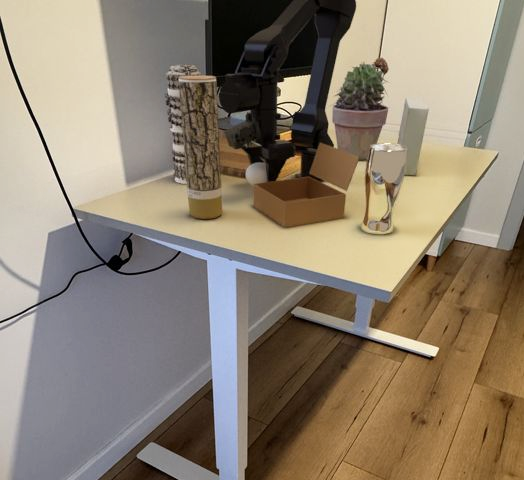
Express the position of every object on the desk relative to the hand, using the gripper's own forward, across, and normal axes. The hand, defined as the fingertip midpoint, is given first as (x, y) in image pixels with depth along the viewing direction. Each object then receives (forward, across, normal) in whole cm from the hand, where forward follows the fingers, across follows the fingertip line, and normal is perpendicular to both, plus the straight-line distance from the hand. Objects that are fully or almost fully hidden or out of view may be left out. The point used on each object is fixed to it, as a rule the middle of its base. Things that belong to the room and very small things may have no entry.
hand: (263, 183), depth 113 cm
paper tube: (+3, +8, -17) cm, 19 cm away
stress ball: (+1, 0, 0) cm, 1 cm away
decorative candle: (+3, -19, -11) cm, 22 cm away
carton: (+2, +14, +1) cm, 15 cm away
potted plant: (+3, -22, +40) cm, 46 cm away
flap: (-6, +15, +9) cm, 18 cm away
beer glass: (+3, +30, +10) cm, 32 cm away
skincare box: (+3, -7, +47) cm, 48 cm away
